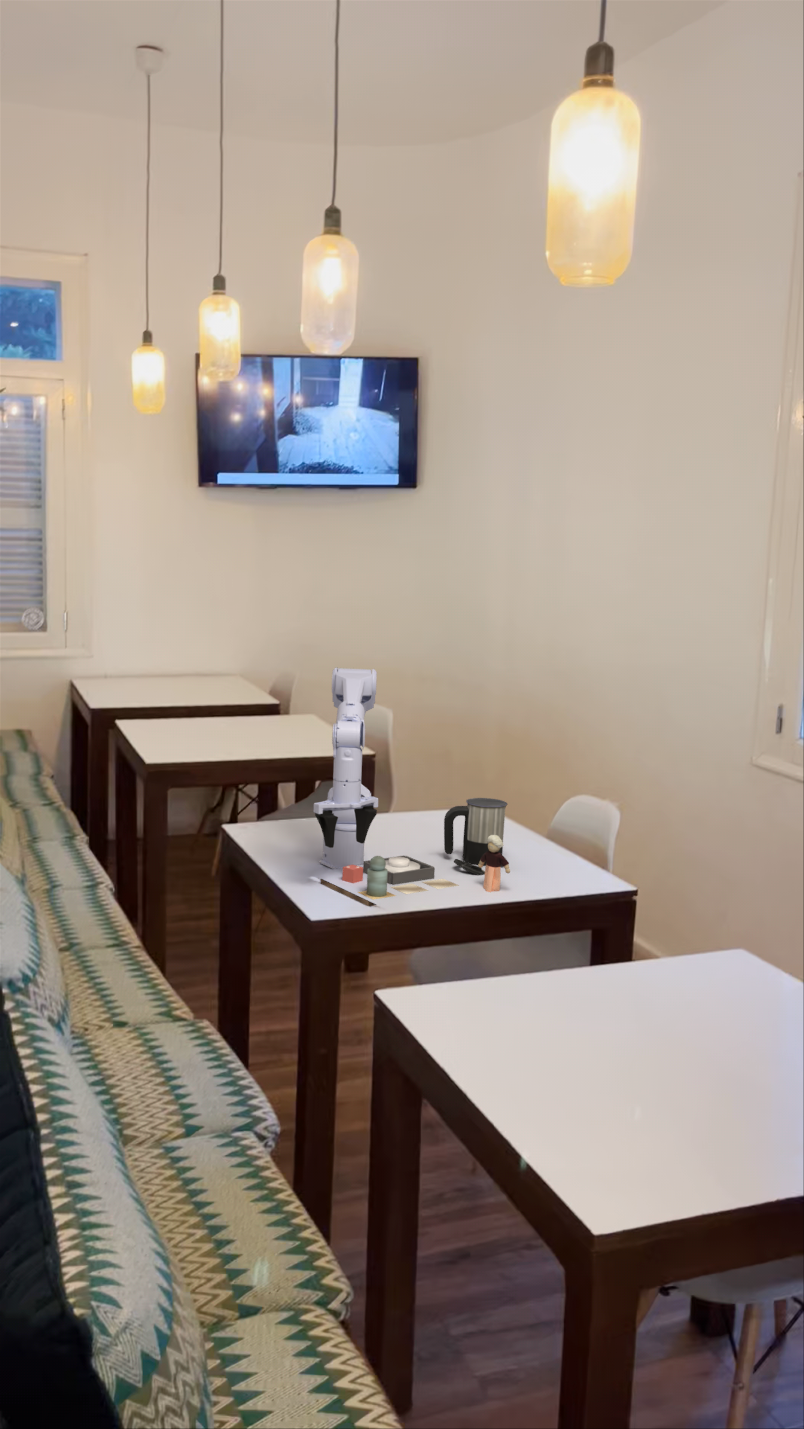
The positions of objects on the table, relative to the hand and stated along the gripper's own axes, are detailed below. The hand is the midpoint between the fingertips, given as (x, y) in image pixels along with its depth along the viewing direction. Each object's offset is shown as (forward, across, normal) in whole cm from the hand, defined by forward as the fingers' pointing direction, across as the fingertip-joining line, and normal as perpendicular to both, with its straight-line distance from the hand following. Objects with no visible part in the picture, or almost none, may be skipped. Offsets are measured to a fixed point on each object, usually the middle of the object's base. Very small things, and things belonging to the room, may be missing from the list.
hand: (345, 844), depth 244 cm
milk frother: (+10, +34, -2) cm, 36 cm away
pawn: (+8, +2, -10) cm, 13 cm away
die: (+9, +3, +1) cm, 10 cm away
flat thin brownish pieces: (+9, +10, -4) cm, 14 cm away
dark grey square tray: (+9, +14, 0) cm, 17 cm away
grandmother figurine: (+10, +24, -18) cm, 32 cm away
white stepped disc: (+8, +14, 0) cm, 16 cm away
